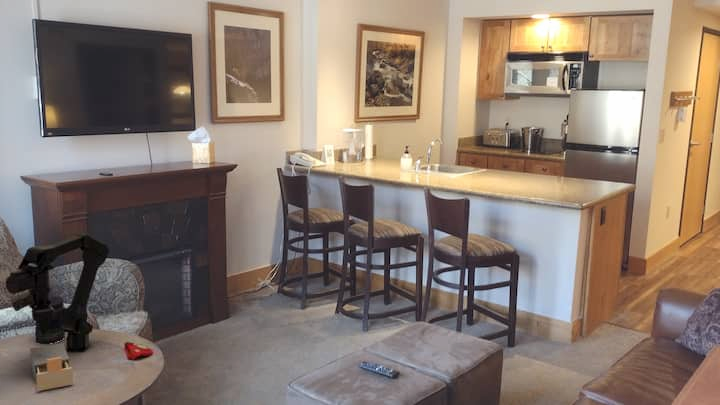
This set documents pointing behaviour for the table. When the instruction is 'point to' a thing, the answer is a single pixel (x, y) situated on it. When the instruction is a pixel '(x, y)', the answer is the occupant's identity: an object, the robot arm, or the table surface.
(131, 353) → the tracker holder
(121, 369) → the table surface
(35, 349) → the sleeve
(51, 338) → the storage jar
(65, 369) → the beige open box
